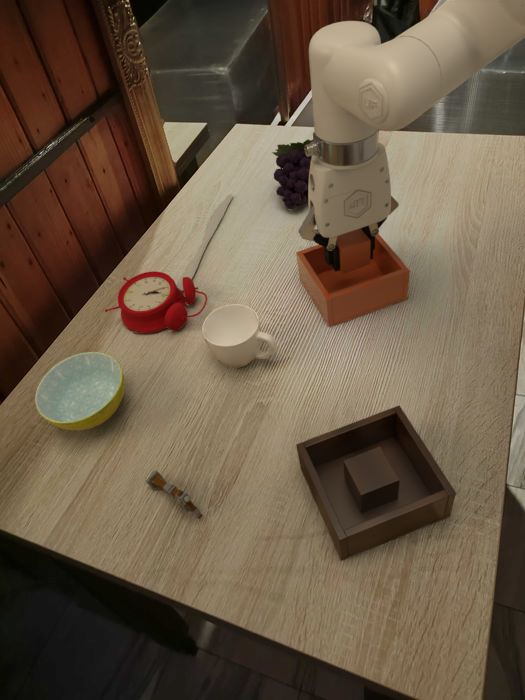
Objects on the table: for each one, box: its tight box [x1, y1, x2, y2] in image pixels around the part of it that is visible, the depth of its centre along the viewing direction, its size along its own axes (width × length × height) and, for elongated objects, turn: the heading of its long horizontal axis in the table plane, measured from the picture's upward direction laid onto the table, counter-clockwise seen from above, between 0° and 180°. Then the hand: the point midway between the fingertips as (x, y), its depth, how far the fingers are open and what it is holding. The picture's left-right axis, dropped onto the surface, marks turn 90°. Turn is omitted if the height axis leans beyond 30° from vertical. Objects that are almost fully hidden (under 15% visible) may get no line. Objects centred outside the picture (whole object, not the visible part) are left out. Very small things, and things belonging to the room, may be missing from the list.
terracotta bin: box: [295, 233, 411, 328], centre depth 80 cm, size 13×12×6 cm
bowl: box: [34, 351, 125, 431], centre depth 71 cm, size 11×12×6 cm
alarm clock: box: [104, 270, 208, 334], centre depth 83 cm, size 10×6×15 cm
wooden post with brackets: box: [145, 469, 204, 520], centre depth 62 cm, size 2×8×4 cm, turn 51°
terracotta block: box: [336, 228, 370, 274], centre depth 76 cm, size 4×4×4 cm
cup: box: [201, 303, 277, 369], centre depth 73 cm, size 8×10×7 cm
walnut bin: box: [295, 405, 457, 561], centre depth 58 cm, size 13×12×6 cm
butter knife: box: [176, 194, 234, 292], centre depth 95 cm, size 1×27×3 cm
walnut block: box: [343, 446, 400, 513], centre depth 58 cm, size 4×4×4 cm
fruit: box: [271, 139, 313, 211], centre depth 97 cm, size 10×11×15 cm
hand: (349, 258), depth 78 cm, fingers closed on terracotta block, 4 cm apart
